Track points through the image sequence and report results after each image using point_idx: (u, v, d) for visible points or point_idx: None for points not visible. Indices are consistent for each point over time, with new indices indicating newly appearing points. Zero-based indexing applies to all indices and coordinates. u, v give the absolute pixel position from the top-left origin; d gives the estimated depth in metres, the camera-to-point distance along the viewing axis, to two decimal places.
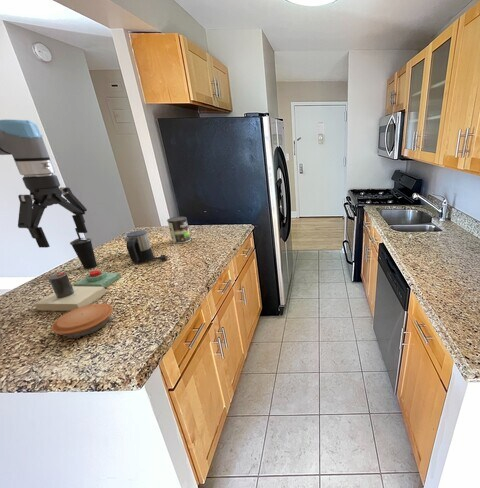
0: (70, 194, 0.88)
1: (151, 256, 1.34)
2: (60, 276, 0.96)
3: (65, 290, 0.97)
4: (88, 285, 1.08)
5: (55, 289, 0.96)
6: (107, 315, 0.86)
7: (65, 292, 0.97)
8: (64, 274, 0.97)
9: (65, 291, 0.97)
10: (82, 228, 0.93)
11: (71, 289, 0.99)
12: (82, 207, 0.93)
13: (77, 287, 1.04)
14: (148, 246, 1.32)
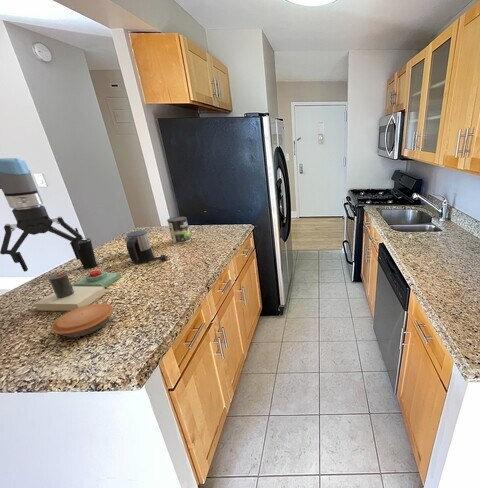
0: (61, 224, 0.92)
1: (151, 256, 1.34)
2: (60, 276, 0.96)
3: (65, 290, 0.97)
4: (88, 285, 1.08)
5: (55, 289, 0.96)
6: (107, 315, 0.86)
7: (65, 292, 0.97)
8: (64, 274, 0.97)
9: (65, 291, 0.97)
10: (75, 255, 0.97)
11: (71, 289, 0.99)
12: (76, 236, 0.96)
13: (77, 287, 1.04)
14: (148, 246, 1.32)
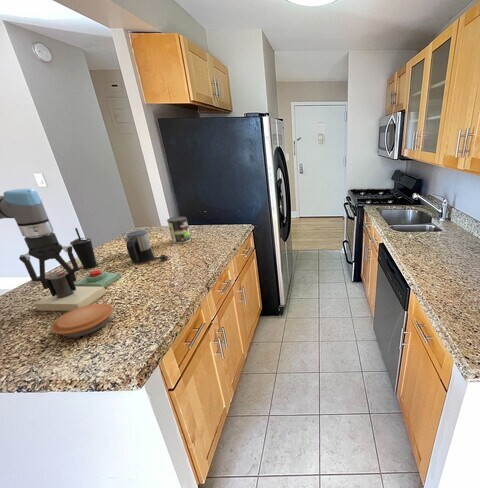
0: (69, 253, 0.96)
1: (151, 256, 1.34)
2: (60, 276, 0.96)
3: (65, 290, 0.97)
4: (88, 285, 1.08)
5: (55, 289, 0.96)
6: (107, 315, 0.86)
7: (65, 292, 0.97)
8: (64, 274, 0.97)
9: (65, 291, 0.97)
10: None
11: (71, 289, 0.99)
12: (74, 267, 0.98)
13: (77, 287, 1.04)
14: (148, 246, 1.32)
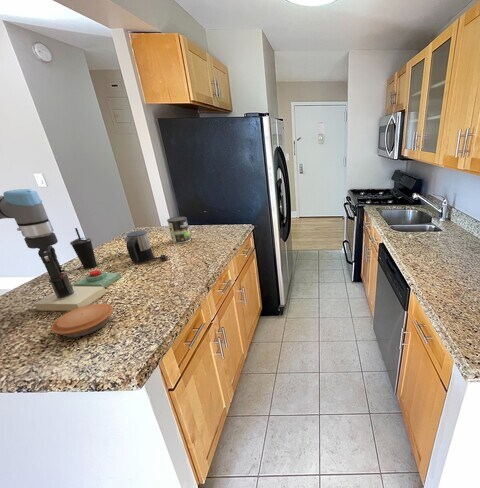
0: None
1: (151, 256, 1.34)
2: None
3: (54, 291, 0.96)
4: (88, 285, 1.08)
5: None
6: (107, 315, 0.86)
7: (55, 293, 0.97)
8: None
9: None
10: None
11: None
12: None
13: (77, 287, 1.04)
14: (148, 246, 1.32)
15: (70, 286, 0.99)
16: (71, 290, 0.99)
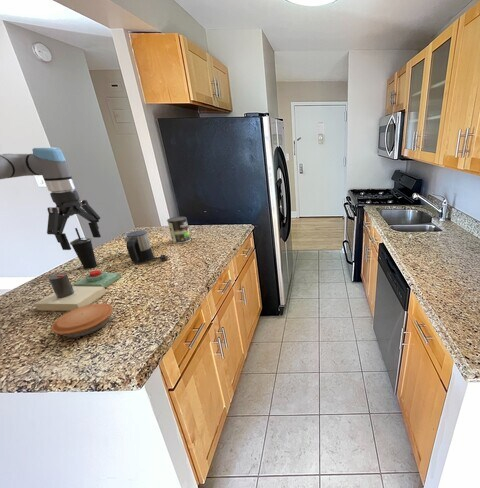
0: None
1: (151, 256, 1.34)
2: (52, 278, 0.95)
3: (54, 291, 0.96)
4: (88, 285, 1.08)
5: None
6: (107, 315, 0.86)
7: (55, 293, 0.97)
8: (57, 278, 0.95)
9: None
10: None
11: (59, 293, 0.96)
12: None
13: (77, 287, 1.04)
14: (148, 246, 1.32)
15: (70, 286, 0.99)
16: (71, 290, 0.99)
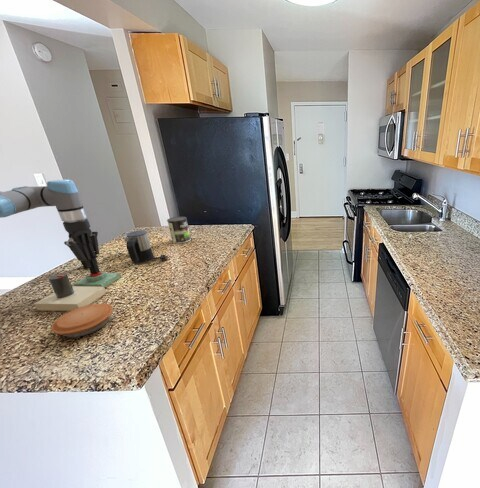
0: None
1: (151, 256, 1.34)
2: (52, 278, 0.95)
3: (54, 291, 0.96)
4: (88, 285, 1.08)
5: None
6: (107, 315, 0.86)
7: (55, 293, 0.97)
8: (57, 278, 0.95)
9: None
10: None
11: (59, 293, 0.96)
12: None
13: (77, 287, 1.04)
14: (148, 246, 1.32)
15: (70, 286, 0.99)
16: (71, 290, 0.99)
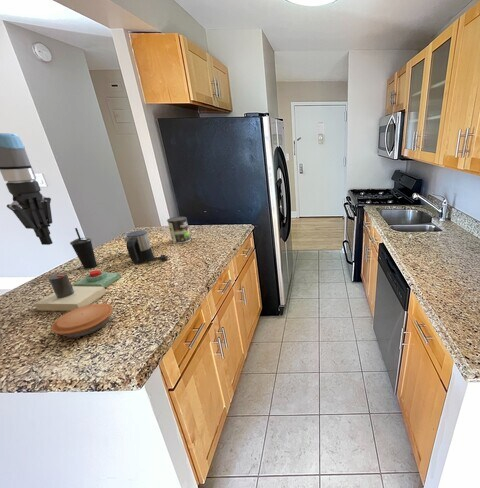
0: None
1: (151, 256, 1.34)
2: (52, 278, 0.95)
3: (54, 291, 0.96)
4: (88, 285, 1.08)
5: None
6: (107, 315, 0.86)
7: (55, 293, 0.97)
8: (57, 278, 0.95)
9: None
10: None
11: (59, 293, 0.96)
12: None
13: (77, 287, 1.04)
14: (148, 246, 1.32)
15: (70, 286, 0.99)
16: (71, 290, 0.99)
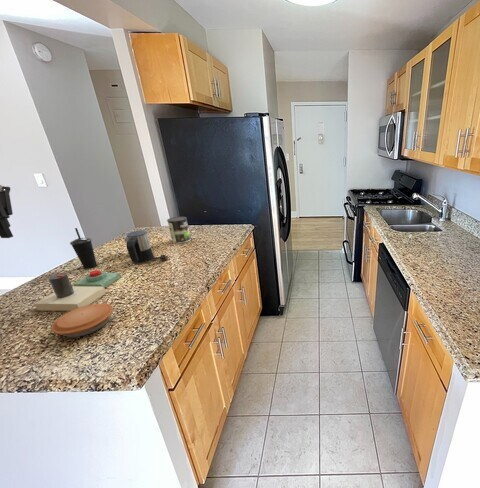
0: None
1: (151, 256, 1.34)
2: (52, 278, 0.95)
3: (54, 291, 0.96)
4: (88, 285, 1.08)
5: None
6: (107, 315, 0.86)
7: (55, 293, 0.97)
8: (57, 278, 0.95)
9: None
10: None
11: (59, 293, 0.96)
12: None
13: (77, 287, 1.04)
14: (148, 246, 1.32)
15: (70, 286, 0.99)
16: (71, 290, 0.99)
